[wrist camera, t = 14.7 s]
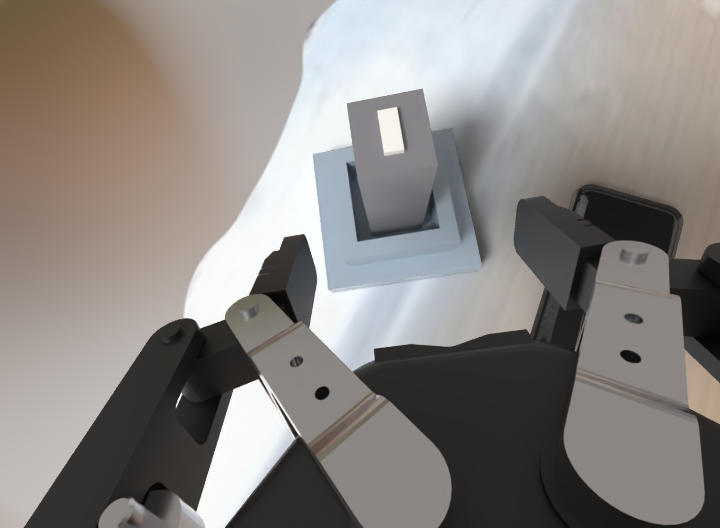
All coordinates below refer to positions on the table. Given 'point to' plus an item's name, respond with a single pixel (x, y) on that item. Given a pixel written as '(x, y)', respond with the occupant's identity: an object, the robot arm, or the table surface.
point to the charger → (393, 159)
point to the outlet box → (400, 249)
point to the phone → (620, 222)
